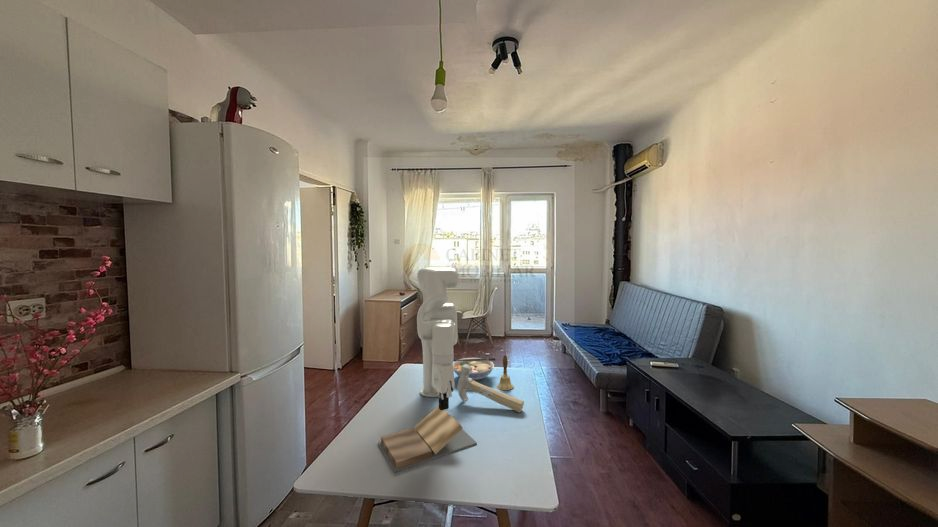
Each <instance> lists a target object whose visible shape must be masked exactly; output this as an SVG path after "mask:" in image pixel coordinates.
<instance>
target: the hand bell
mask: <svg viewBox="0 0 938 527" xmlns="http://www.w3.org/2000/svg"><path fill="white" fill-rule="evenodd" d="M508 362H509V360H508V356H507V355H506V354H503V357H502V367H503V373H502V375H500V379H499V383H498V384H497V385H496V389H497V390H500V389H501V390H500V391H511V390H513V389H514V388H515V386H514V385H513V384H512V382H511V378H510V376H509V375H508V370H507V368H508ZM512 388H513V389H512ZM510 389H511V390H510Z"/></svg>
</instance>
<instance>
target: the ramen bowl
mask: <svg viewBox="0 0 938 527" xmlns="http://www.w3.org/2000/svg"><path fill="white" fill-rule="evenodd" d="M493 361H496V358H495V357H488V358H484V357H483V358H481V357H465V358H460V359H454V362H453V363H452V364H453V370H454V374H455V375H456V376H458V377H459V378H460V376H461V375H462V373H461V368H462V367H463V365H465V364H467V365H470V366H471V367H472V371H471V373H470V374H469V375H468V377H469V378H472V379H473V381H475V382H477V381H479V380H482V379H485V378H486V377H488V376H489V375H490V374H491V372H492V371H493V370H494V367H495V364H494V362H493Z"/></svg>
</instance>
